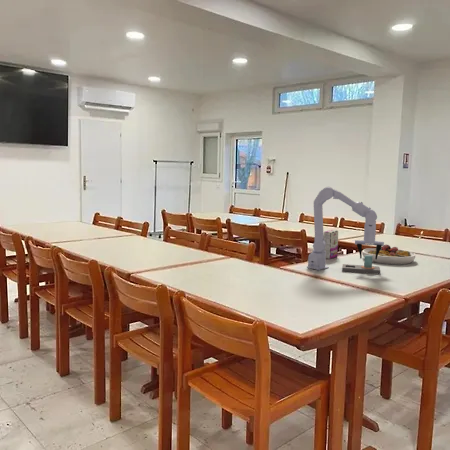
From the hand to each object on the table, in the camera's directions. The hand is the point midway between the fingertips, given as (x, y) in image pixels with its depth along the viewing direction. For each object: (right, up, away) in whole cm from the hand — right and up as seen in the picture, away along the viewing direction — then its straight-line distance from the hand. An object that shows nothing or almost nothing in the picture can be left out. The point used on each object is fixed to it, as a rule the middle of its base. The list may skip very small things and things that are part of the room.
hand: (368, 258), depth 239 cm
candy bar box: (-11, -2, +38) cm, 40 cm away
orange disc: (0, -5, +1) cm, 5 cm away
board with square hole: (-3, -7, +2) cm, 8 cm away
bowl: (+22, -4, +33) cm, 40 cm away
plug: (0, -5, +1) cm, 5 cm away
